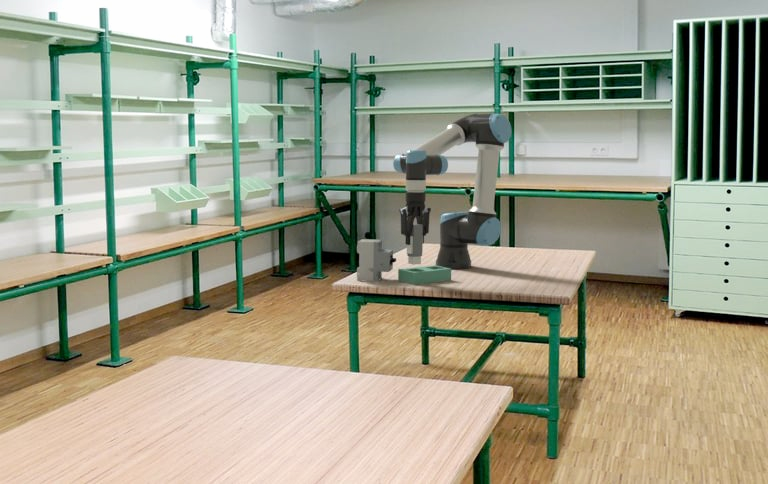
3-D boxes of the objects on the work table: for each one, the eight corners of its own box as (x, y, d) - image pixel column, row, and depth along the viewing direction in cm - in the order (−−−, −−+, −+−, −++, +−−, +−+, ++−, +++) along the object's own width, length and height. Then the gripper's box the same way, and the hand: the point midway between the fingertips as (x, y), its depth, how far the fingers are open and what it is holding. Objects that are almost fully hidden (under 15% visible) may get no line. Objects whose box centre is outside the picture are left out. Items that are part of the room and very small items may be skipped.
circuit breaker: (393, 281, 327) (393, 242, 325) (356, 280, 329) (357, 241, 328) (397, 278, 334) (397, 240, 332) (361, 277, 337) (361, 239, 335)
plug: (415, 262, 329) (416, 223, 327) (421, 263, 326) (422, 224, 324) (407, 263, 327) (407, 224, 325) (413, 264, 323) (414, 225, 322)
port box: (434, 276, 340) (434, 265, 339) (451, 280, 331) (451, 268, 331) (397, 280, 329) (397, 269, 329) (414, 284, 321) (414, 272, 320)
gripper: (427, 190, 331) (426, 250, 334) (391, 191, 321) (390, 253, 324) (439, 191, 325) (438, 252, 328) (403, 192, 315) (402, 255, 318)
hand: (414, 252), depth 326 cm, fingers closed on plug, 4 cm apart
